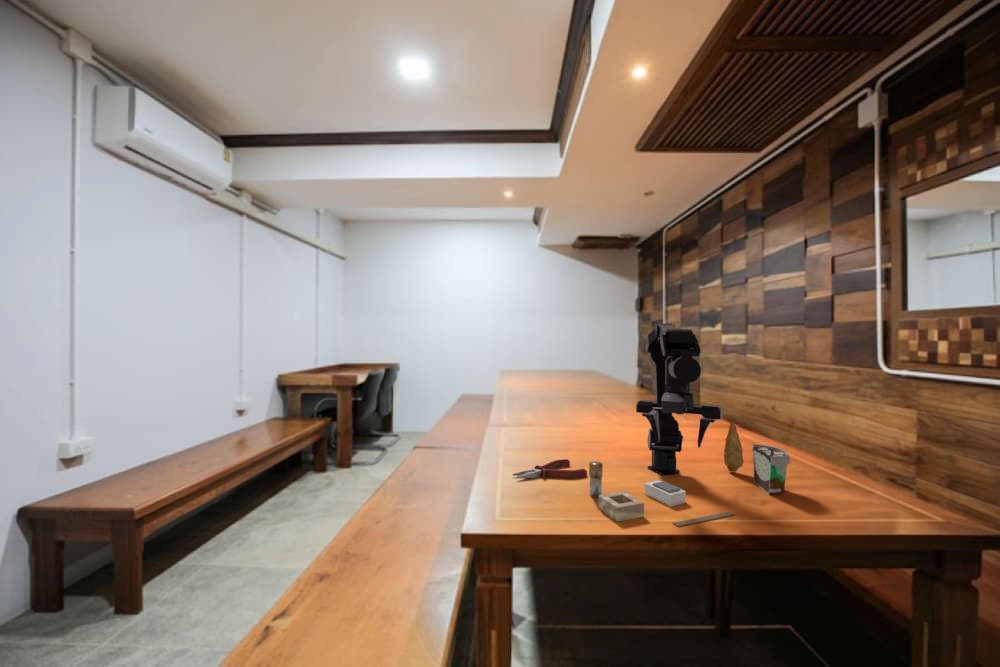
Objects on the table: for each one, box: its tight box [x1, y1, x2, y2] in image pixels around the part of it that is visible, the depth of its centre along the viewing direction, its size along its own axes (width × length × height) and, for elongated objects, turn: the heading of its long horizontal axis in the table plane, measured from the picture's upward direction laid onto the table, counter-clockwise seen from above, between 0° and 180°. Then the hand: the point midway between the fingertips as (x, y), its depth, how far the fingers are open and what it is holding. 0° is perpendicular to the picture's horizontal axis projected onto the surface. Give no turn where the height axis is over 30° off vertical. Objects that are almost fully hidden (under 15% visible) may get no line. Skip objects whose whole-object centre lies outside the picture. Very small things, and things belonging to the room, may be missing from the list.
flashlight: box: [588, 460, 604, 499], centre depth 102 cm, size 3×3×8 cm
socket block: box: [598, 491, 645, 522], centre depth 93 cm, size 7×7×3 cm
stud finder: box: [644, 479, 687, 507], centre depth 101 cm, size 8×5×4 cm, turn 26°
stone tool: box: [723, 419, 744, 473], centre depth 119 cm, size 5×2×15 cm, turn 97°
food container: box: [751, 443, 791, 496], centre depth 107 cm, size 12×6×10 cm, turn 168°
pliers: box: [512, 458, 588, 480], centre depth 117 cm, size 12×20×3 cm, turn 111°
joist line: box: [672, 511, 736, 528], centre depth 90 cm, size 2×16×1 cm, turn 111°
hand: (678, 444), depth 100 cm, fingers open, 9 cm apart
